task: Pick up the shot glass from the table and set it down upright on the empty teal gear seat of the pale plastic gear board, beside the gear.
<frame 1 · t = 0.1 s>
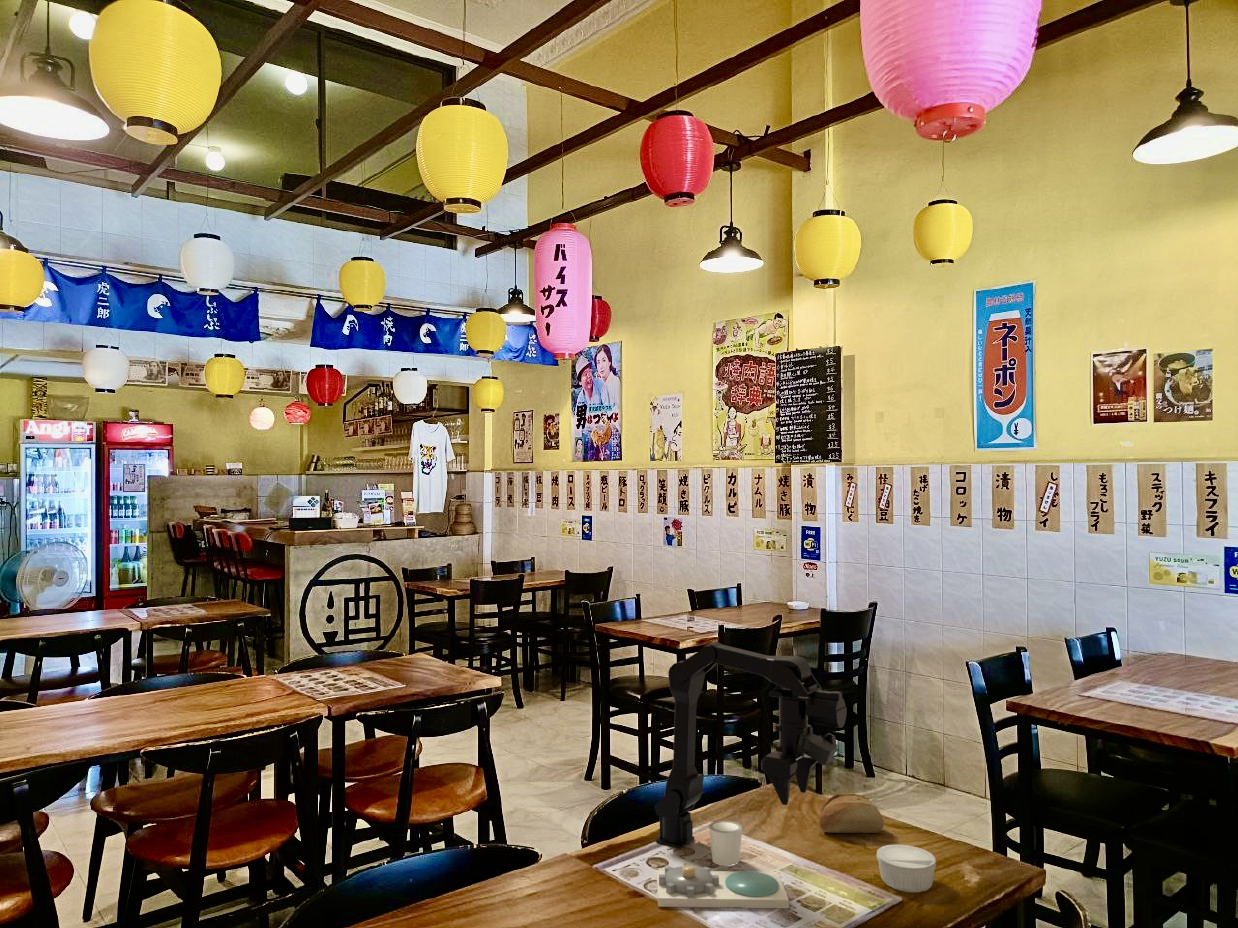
hand: (794, 798, 169), 15 cm above the table, tool pointing down, fingers open, 9 cm apart
ramekin: (906, 883, 164), on the table
bread roll: (850, 832, 190), on the table
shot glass: (725, 861, 174), on the table
gear board: (720, 892, 159), on the table
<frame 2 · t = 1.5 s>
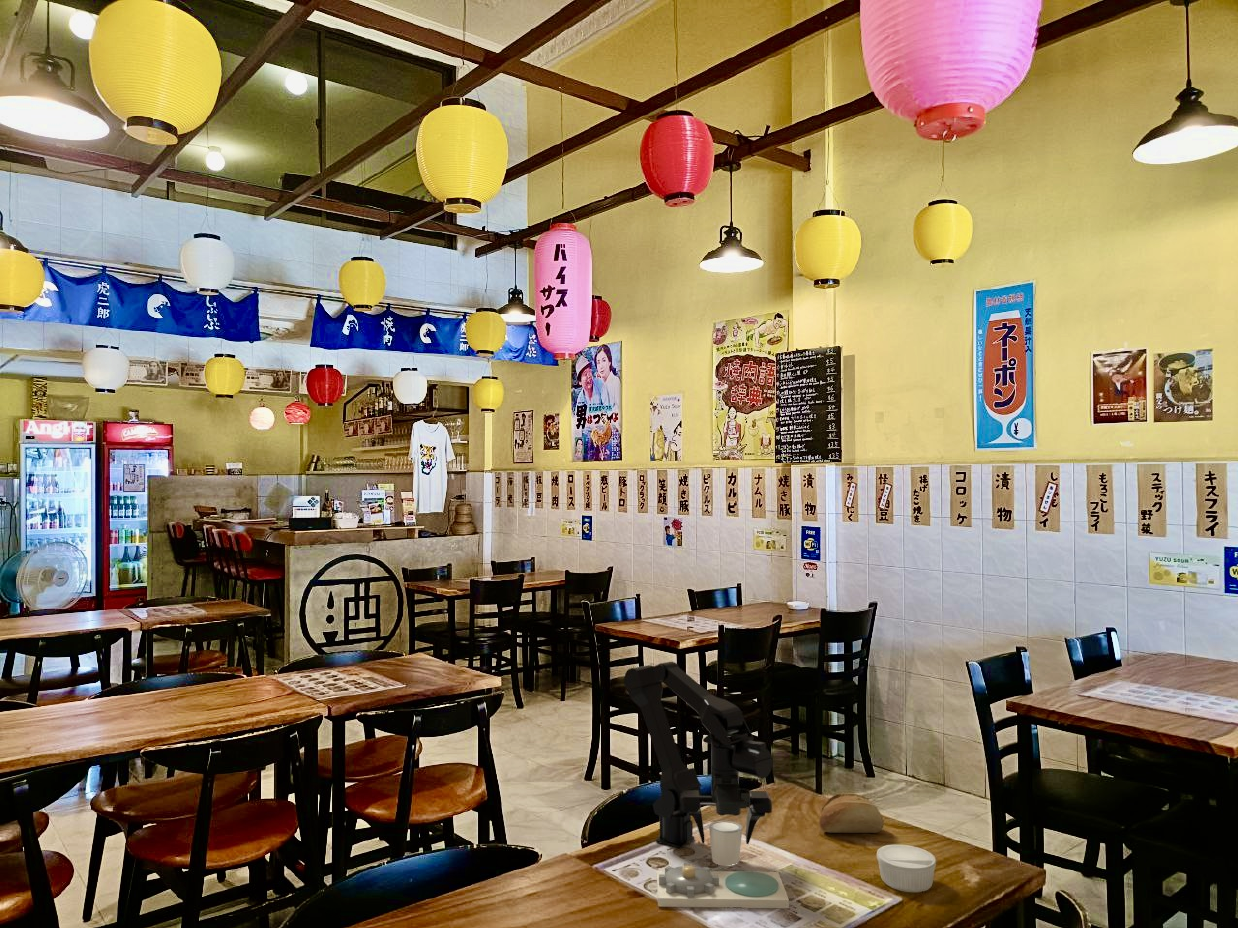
hand: (725, 843, 174), 3 cm above the table, tool pointing down, fingers open, 9 cm apart
nothing on the table moved.
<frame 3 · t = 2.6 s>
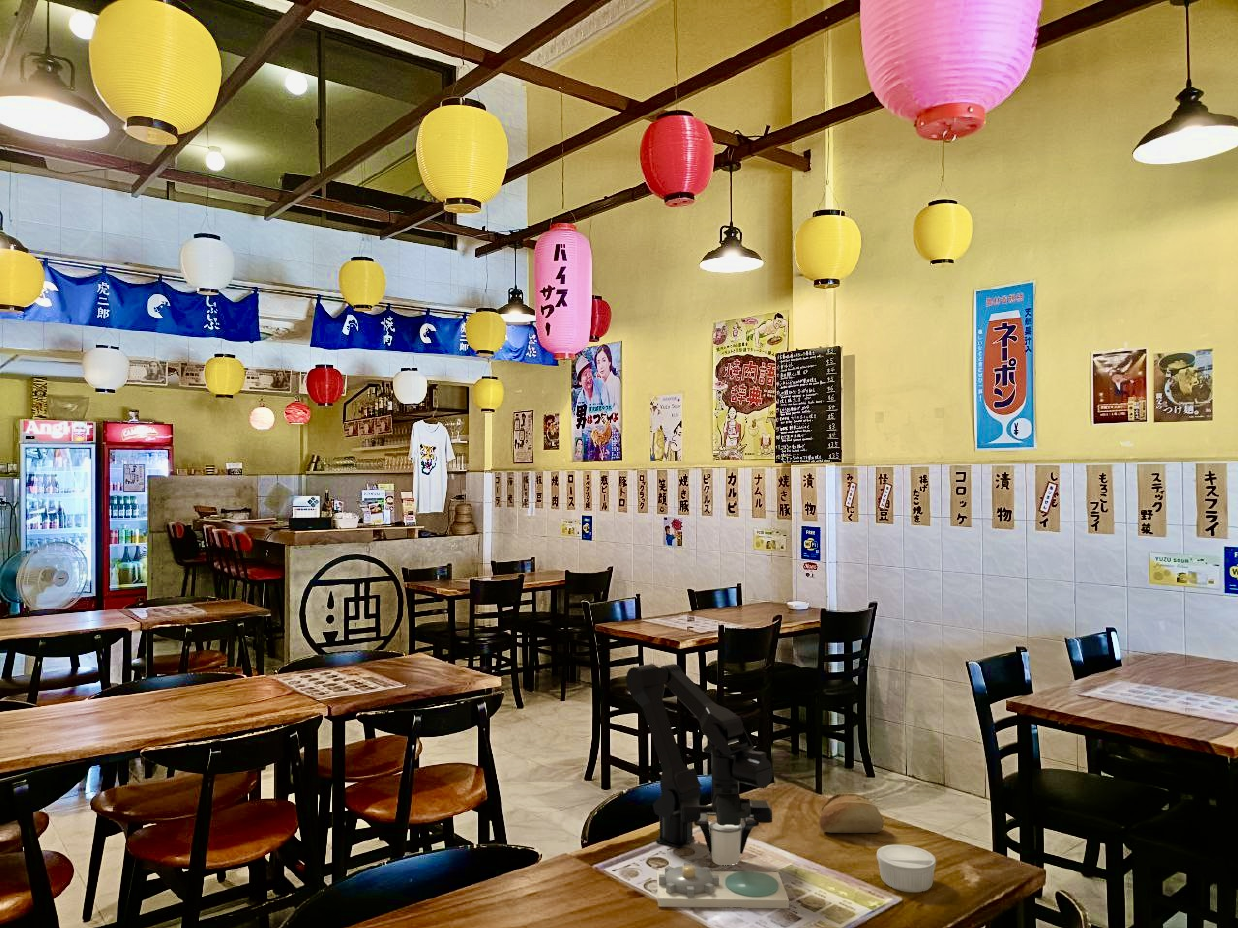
hand: (725, 852, 174), 2 cm above the table, tool pointing down, fingers closed on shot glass, 6 cm apart
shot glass: (725, 861, 174), on the table, touching gripper
everything else where it was.
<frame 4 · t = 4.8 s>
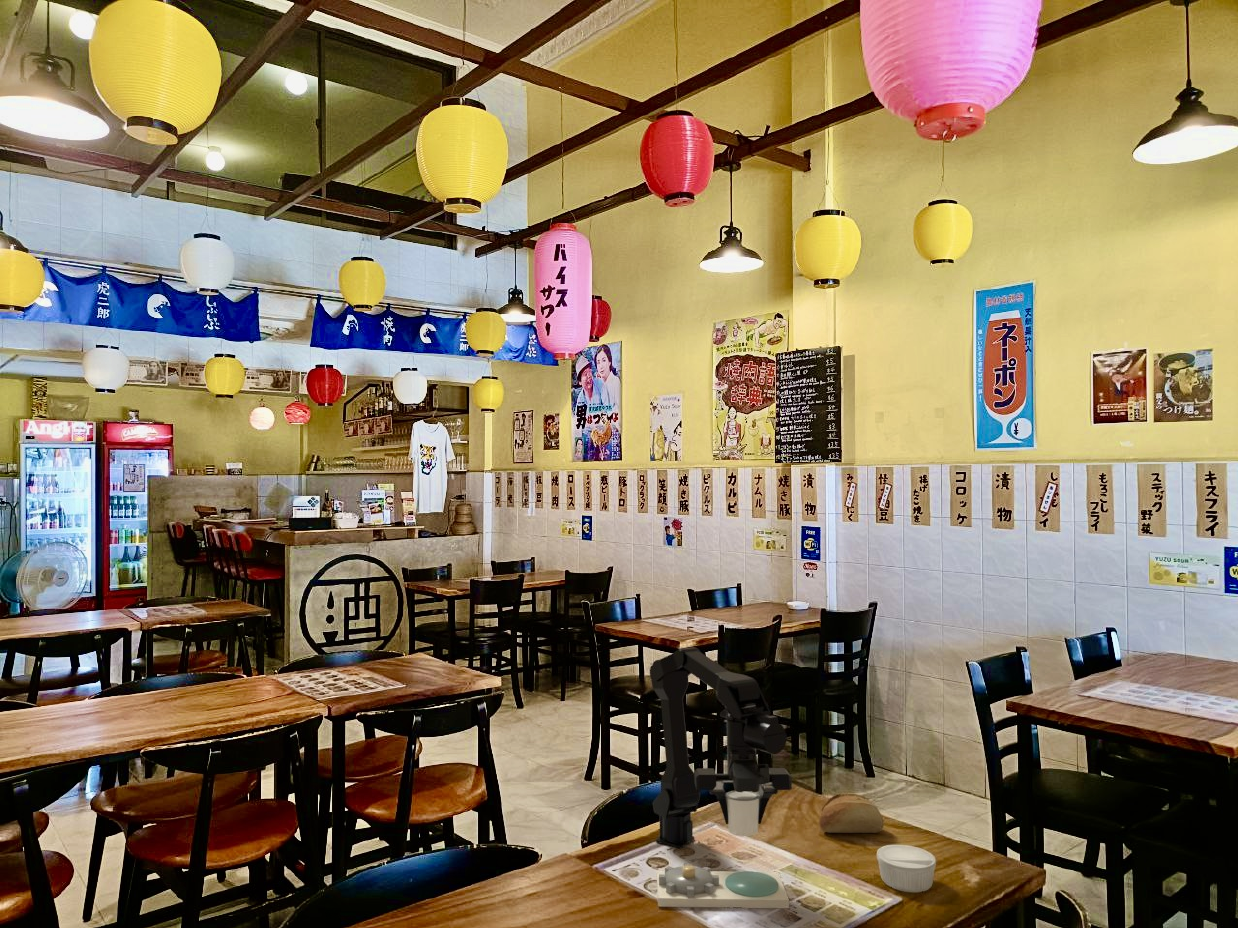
hand: (743, 823, 165), 11 cm above the table, tool pointing down, fingers closed on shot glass, 6 cm apart
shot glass: (743, 832, 165), point 9 cm above the table, touching gripper
everything else where it was.
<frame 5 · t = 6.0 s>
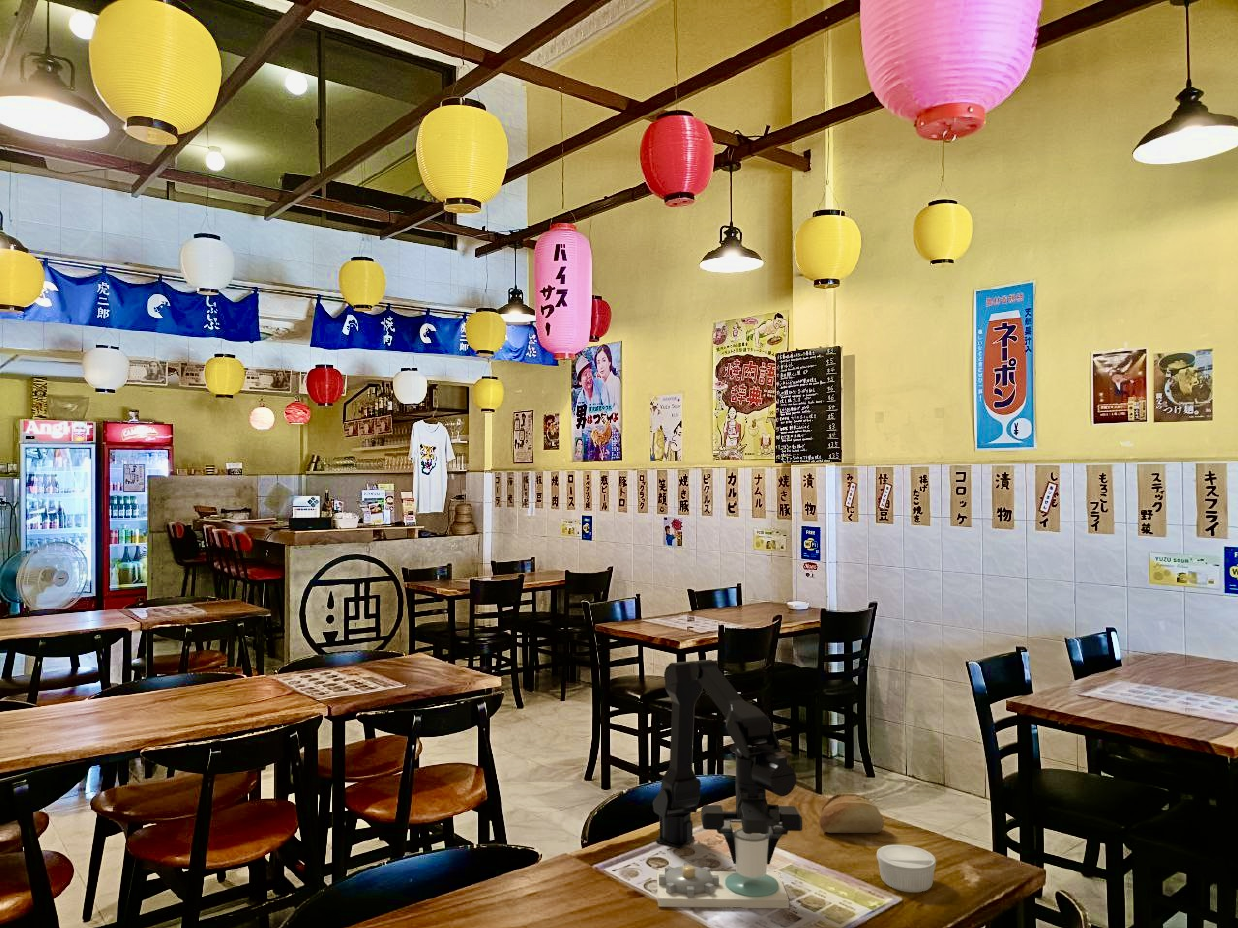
hand: (751, 863, 159), 5 cm above the table, tool pointing down, fingers closed on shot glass, 6 cm apart
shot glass: (751, 872, 159), point 4 cm above the table, touching gripper
everything else where it was.
when the fingers open (4 cm above the table, at t = 7.1 s): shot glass stays where it is, resting on gear board.
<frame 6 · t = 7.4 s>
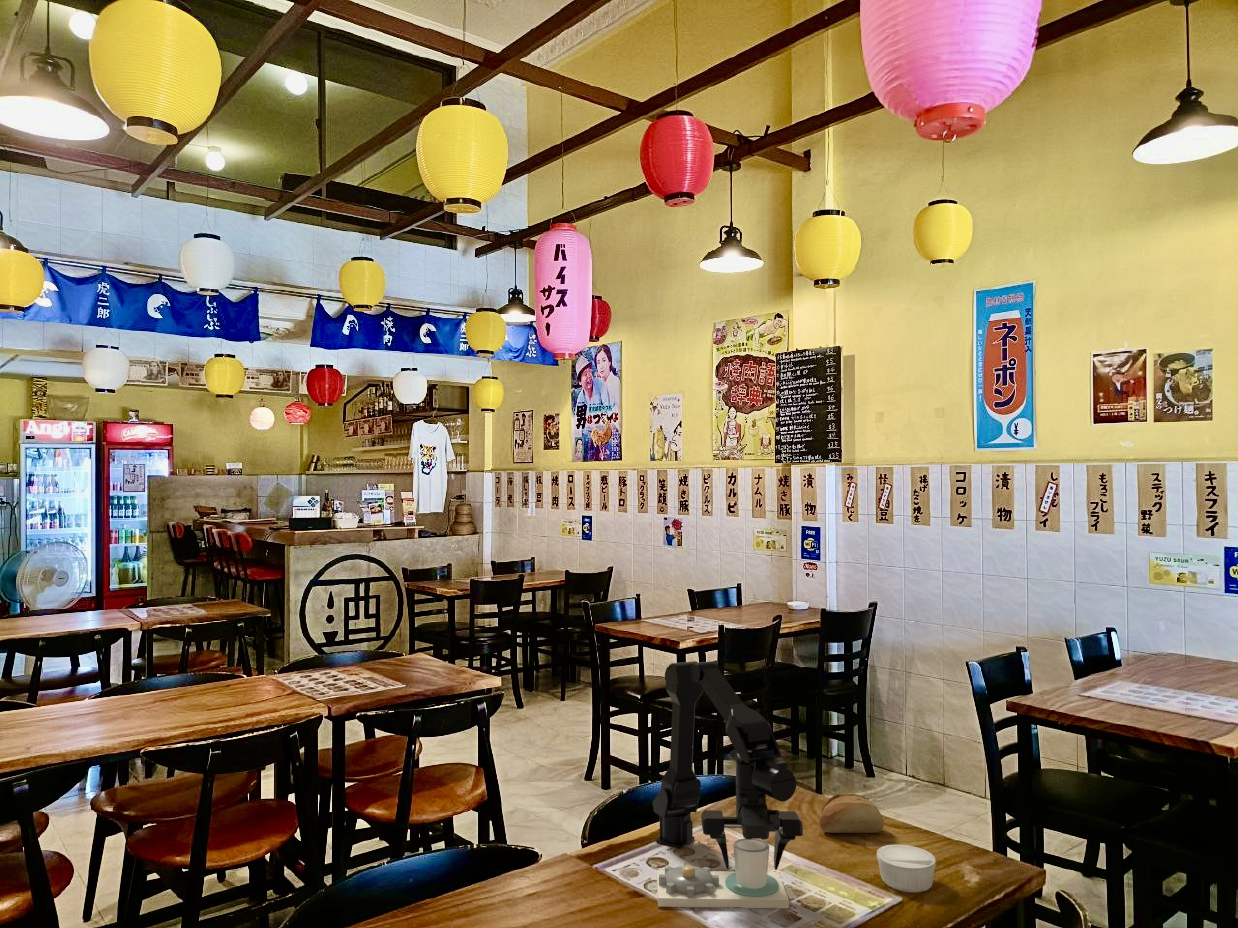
hand: (751, 868, 159), 4 cm above the table, tool pointing down, fingers open, 9 cm apart
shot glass: (751, 882, 159), point 2 cm above the table, touching gear board
everything else where it was.
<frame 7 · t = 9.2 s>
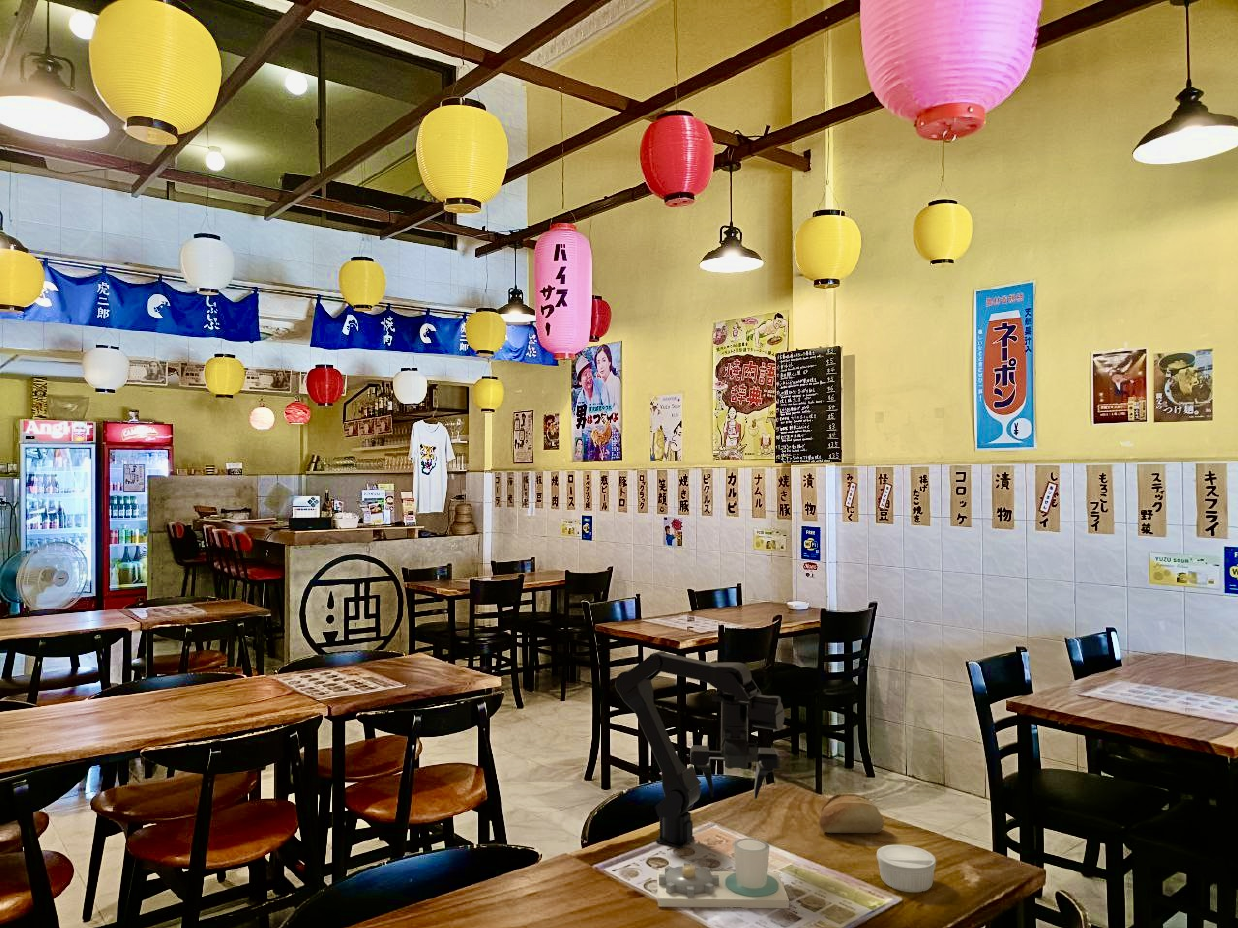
hand: (733, 797, 178), 12 cm above the table, tool pointing down, fingers open, 9 cm apart
nothing on the table moved.
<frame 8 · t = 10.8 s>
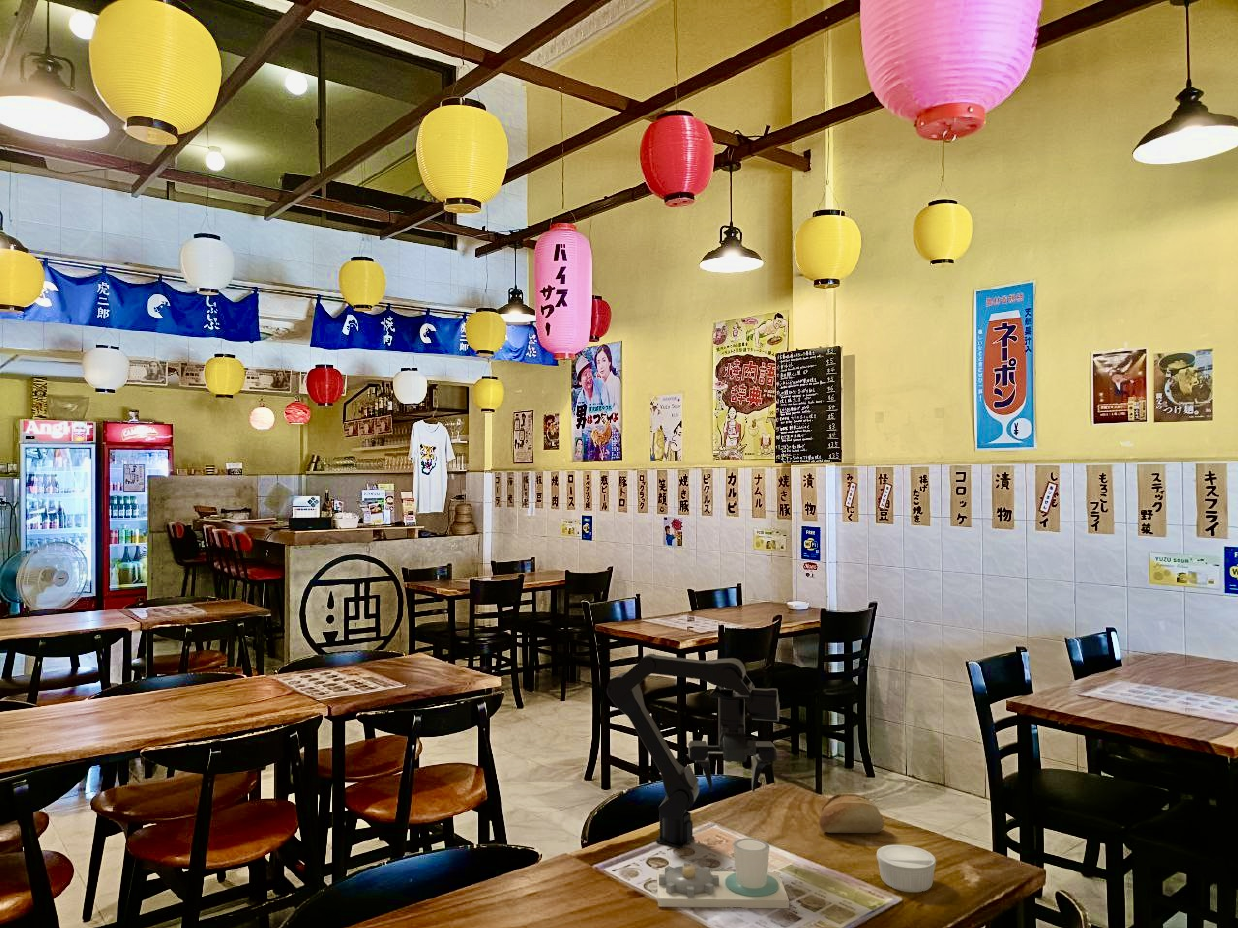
hand: (732, 790, 181), 12 cm above the table, tool pointing down, fingers open, 9 cm apart
nothing on the table moved.
at the end: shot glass 0.1 cm from the target spot, point 1.8 cm above the table; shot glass tilted 0°; the gripper is holding nothing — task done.
